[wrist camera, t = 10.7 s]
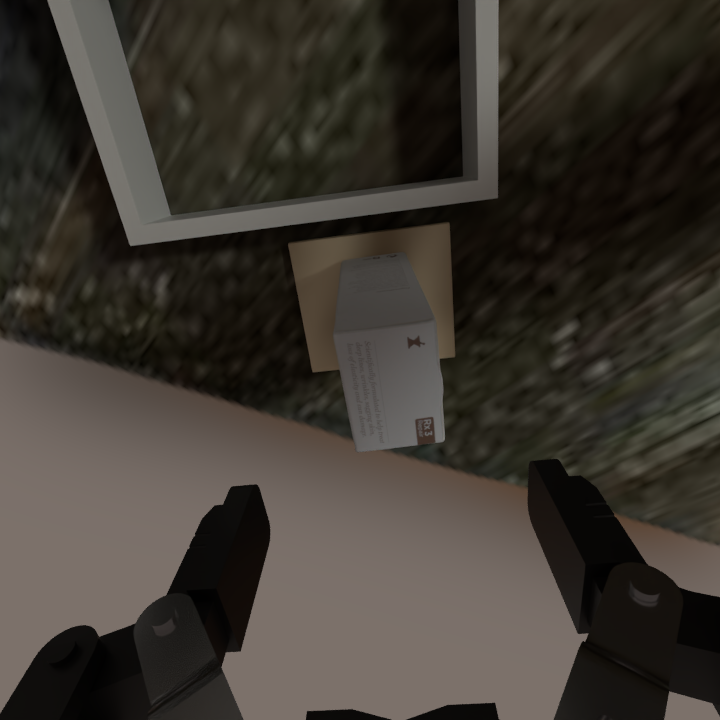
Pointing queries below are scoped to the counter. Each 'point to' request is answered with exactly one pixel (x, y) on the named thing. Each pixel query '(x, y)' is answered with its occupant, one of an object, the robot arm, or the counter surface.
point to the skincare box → (388, 354)
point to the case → (155, 223)
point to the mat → (324, 256)
